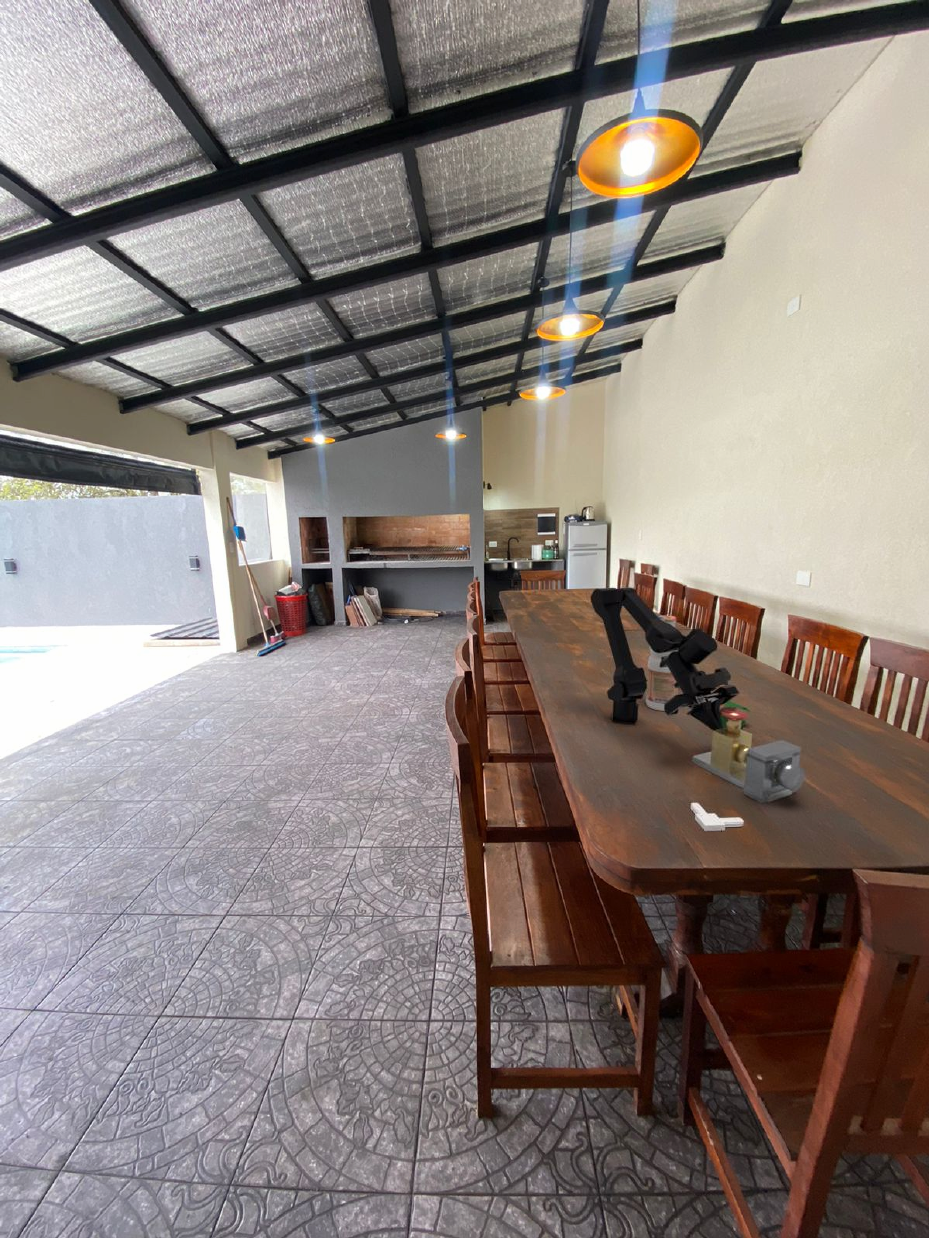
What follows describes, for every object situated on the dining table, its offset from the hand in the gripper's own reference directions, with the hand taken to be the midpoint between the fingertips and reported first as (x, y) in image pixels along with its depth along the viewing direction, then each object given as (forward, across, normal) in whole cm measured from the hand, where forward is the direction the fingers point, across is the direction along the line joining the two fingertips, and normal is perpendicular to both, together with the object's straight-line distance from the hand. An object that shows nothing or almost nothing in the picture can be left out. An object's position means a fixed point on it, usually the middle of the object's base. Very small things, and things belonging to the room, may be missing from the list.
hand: (721, 733), depth 114 cm
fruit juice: (-19, +18, +31) cm, 40 cm away
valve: (+7, 0, +2) cm, 8 cm away
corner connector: (+16, -18, -4) cm, 24 cm away
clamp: (-4, +22, +16) cm, 28 cm away
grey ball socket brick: (+10, 0, +1) cm, 11 cm away
